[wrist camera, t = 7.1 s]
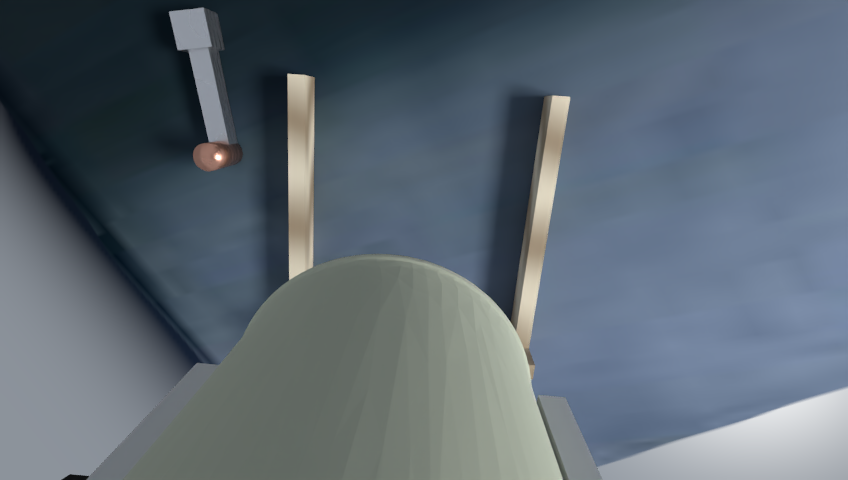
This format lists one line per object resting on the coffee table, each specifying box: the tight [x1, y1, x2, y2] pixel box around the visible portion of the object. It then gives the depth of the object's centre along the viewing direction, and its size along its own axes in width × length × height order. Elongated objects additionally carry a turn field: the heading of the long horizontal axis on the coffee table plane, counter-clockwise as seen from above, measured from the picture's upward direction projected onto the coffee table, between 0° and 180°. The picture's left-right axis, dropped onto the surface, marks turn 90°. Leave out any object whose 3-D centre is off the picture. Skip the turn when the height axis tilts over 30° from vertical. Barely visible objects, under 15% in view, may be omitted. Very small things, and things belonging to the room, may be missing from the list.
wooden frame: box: [288, 74, 570, 379], centre depth 27 cm, size 21×16×7 cm
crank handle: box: [169, 8, 243, 171], centre depth 26 cm, size 9×2×3 cm, turn 5°
